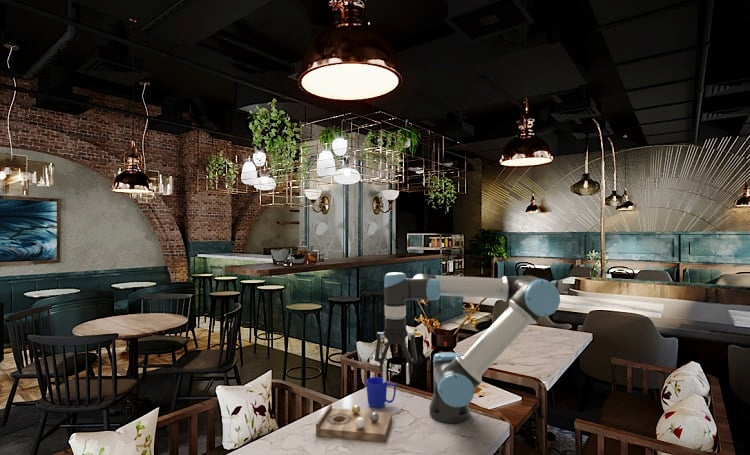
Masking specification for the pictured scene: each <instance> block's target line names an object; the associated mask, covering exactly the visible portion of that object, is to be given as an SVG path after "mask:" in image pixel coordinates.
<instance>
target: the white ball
mask: <svg viewBox="0 0 750 455" xmlns="http://www.w3.org/2000/svg"><path fill="white" fill-rule="evenodd" d="M355 425H356V427H357V428H359V429H361V428H363V427H364V426H365V420H364V419H363V418H361V417H359V418H357V419H356V421H355Z"/></svg>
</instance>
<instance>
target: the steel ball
mask: <svg viewBox="0 0 750 455" xmlns="http://www.w3.org/2000/svg"><path fill="white" fill-rule="evenodd" d="M373 412H374V413H372V414H371V415H370V420H371V421H372V422H377V421H378V420H379V415H378V414H377V413H375V412H376V411H373Z"/></svg>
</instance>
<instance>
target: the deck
mask: <svg viewBox="0 0 750 455" xmlns="http://www.w3.org/2000/svg"><path fill="white" fill-rule="evenodd" d="M374 412H375V413H377V414H378V415H379V420H378V421H377V422H372V421H371V420H370V415H371V414H372V413H374ZM359 417H361V418H363V419H364V420H365V426H364V427H363V428H361V429H359V428H357V427H356V425H355V421H356V419H357V418H359ZM392 421H393V413H392V412H385V411H383V412H382V411H373V410H372V411H368V410H360V412H359V413H358V414H354V413H353V412H352V409H347V408H346V409H345V408H334V407H333V404H332V403H331V404H328V406H327V408H326V409H325V411H324V412H323V413H322V415H321V417H320V418H319V419H318V421H317V422H316V423H315V436H316V437H327V438H338V439H349V440H358V441H359V440H360V441H361V440H362V441H371V442H380V443H381V442H383V443H385V442H386V439H387V436H388V433H389V430H390V427H391V424H392Z"/></svg>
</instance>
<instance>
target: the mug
mask: <svg viewBox="0 0 750 455" xmlns="http://www.w3.org/2000/svg"><path fill="white" fill-rule="evenodd" d="M365 381H366V382H365V383H366V384H365V385H366V393H367V394H366V396H367V403H368V404H367V405H368V406H369V407H370V408H373V409H380V408H381V409H382V408H383V407H385V404H386V403H389V404H391V403H393V402H394V400H395V397H396V393H397V392H396V391H397V384H396V383H393V382H387V380H386V382H385V383H383V377H380V376H376V377H375V376H374V377H370V378H367V379H366V380H365ZM388 386H393V396H392V399H391V400H388V399H387V390H388V389H387V388H388Z"/></svg>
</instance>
